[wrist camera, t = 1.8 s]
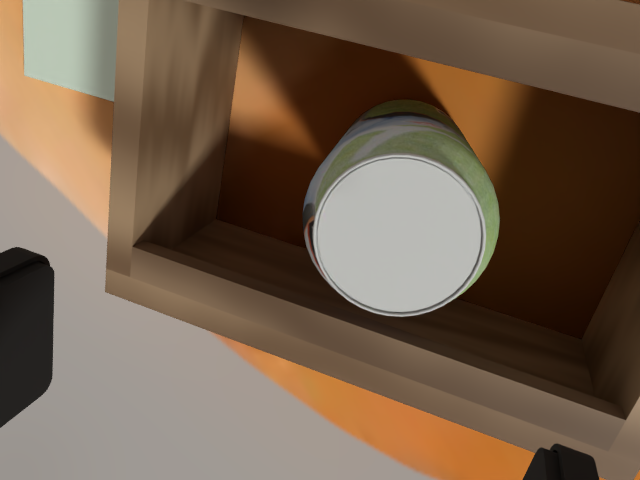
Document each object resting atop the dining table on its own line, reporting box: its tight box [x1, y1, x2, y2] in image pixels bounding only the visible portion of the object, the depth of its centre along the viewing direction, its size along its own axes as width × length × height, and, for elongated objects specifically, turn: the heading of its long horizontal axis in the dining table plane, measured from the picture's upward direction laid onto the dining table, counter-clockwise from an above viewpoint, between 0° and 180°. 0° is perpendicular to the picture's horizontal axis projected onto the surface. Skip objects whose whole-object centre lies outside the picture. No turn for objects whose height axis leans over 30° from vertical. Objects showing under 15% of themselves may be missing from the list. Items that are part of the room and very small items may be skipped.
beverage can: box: [303, 100, 500, 317], centre depth 21 cm, size 6×7×12 cm
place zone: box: [23, 0, 119, 102], centre depth 28 cm, size 9×9×1 cm
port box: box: [105, 0, 640, 480], centre depth 23 cm, size 15×22×8 cm
